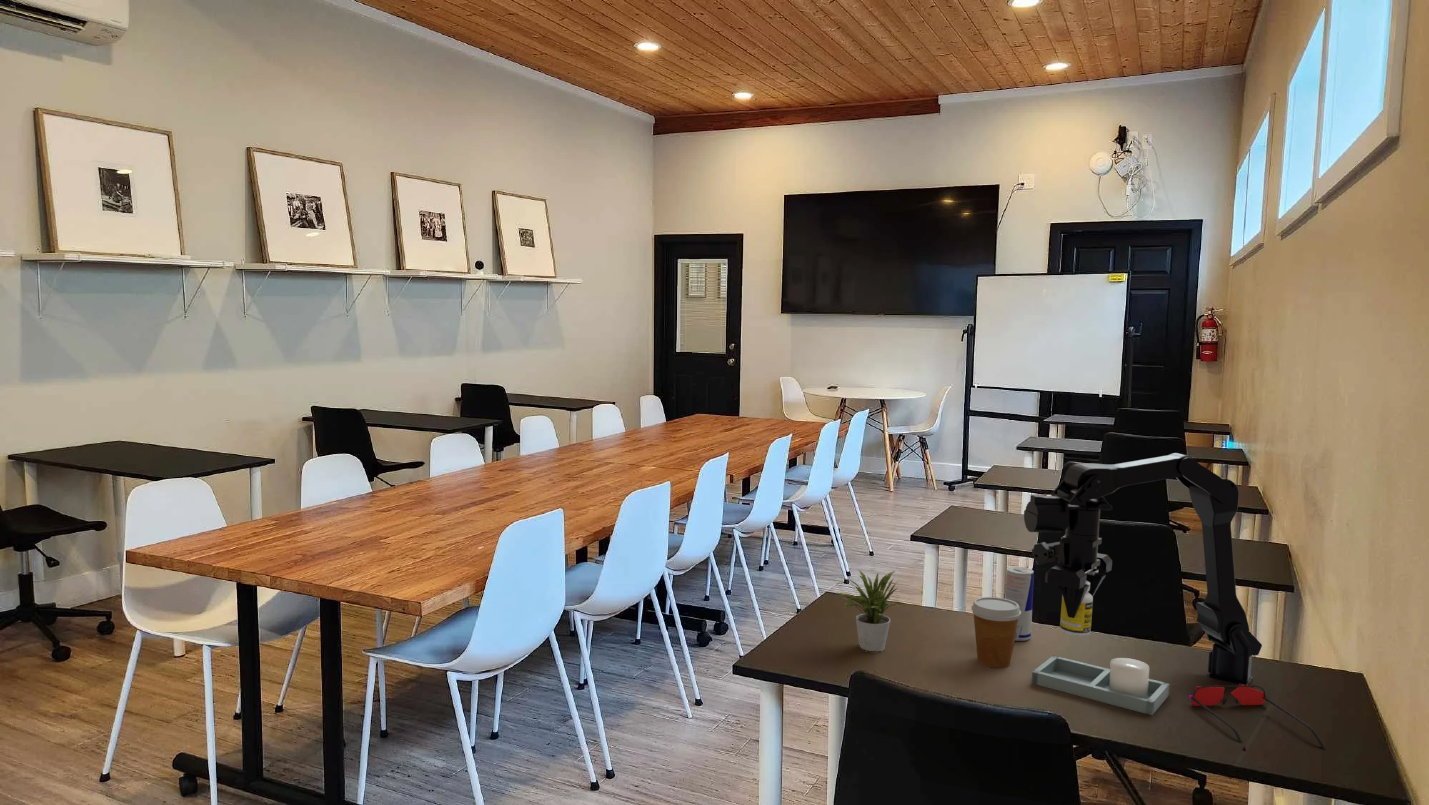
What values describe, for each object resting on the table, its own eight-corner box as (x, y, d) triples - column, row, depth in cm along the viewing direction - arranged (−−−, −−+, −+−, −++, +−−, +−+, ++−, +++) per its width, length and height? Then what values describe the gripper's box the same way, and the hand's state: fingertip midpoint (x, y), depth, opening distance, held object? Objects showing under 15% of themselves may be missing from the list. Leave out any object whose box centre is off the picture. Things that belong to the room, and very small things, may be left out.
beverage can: (1032, 643, 198) (1035, 573, 196) (1004, 641, 199) (1007, 572, 197) (1029, 634, 203) (1032, 566, 202) (1002, 632, 204) (1005, 565, 203)
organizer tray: (1168, 699, 169) (1169, 683, 169) (1151, 719, 161) (1152, 702, 161) (1052, 670, 183) (1053, 655, 182) (1031, 687, 174) (1032, 671, 174)
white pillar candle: (1151, 696, 169) (1153, 663, 168) (1141, 707, 164) (1143, 674, 164) (1114, 686, 173) (1116, 655, 173) (1103, 697, 168) (1105, 665, 168)
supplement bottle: (1087, 639, 172) (1090, 587, 171) (1056, 633, 175) (1059, 582, 174) (1093, 631, 177) (1096, 580, 176) (1063, 625, 180) (1066, 575, 178)
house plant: (858, 629, 205) (860, 556, 203) (917, 643, 197) (920, 567, 195) (826, 647, 193) (828, 570, 192) (887, 663, 185) (890, 582, 184)
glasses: (1261, 709, 167) (1263, 681, 167) (1327, 752, 151) (1329, 722, 150) (1186, 710, 166) (1188, 682, 166) (1244, 754, 150) (1246, 724, 149)
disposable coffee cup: (966, 666, 184) (968, 607, 183) (972, 650, 193) (974, 594, 192) (1016, 674, 181) (1019, 613, 179) (1020, 657, 189) (1023, 599, 188)
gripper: (1057, 517, 186) (1052, 594, 188) (1020, 533, 172) (1015, 615, 173) (1115, 527, 179) (1109, 606, 180) (1081, 543, 165) (1075, 630, 166)
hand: (1076, 614), depth 175 cm, fingers closed on supplement bottle, 5 cm apart
